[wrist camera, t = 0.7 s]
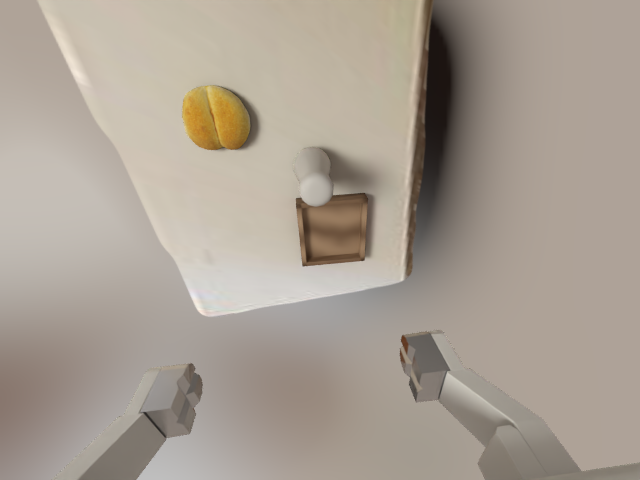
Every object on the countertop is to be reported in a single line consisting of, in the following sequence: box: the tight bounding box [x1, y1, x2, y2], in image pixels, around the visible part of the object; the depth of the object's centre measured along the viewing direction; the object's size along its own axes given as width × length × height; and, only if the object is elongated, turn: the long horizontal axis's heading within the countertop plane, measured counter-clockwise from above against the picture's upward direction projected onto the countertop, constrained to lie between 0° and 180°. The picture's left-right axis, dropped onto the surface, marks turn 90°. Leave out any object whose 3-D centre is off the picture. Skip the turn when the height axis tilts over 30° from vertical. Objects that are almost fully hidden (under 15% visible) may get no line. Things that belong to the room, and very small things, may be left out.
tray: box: [296, 193, 368, 266], centre depth 48 cm, size 13×12×2 cm
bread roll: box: [182, 85, 251, 150], centre depth 36 cm, size 8×9×4 cm
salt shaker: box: [293, 147, 334, 207], centre depth 37 cm, size 6×6×13 cm
